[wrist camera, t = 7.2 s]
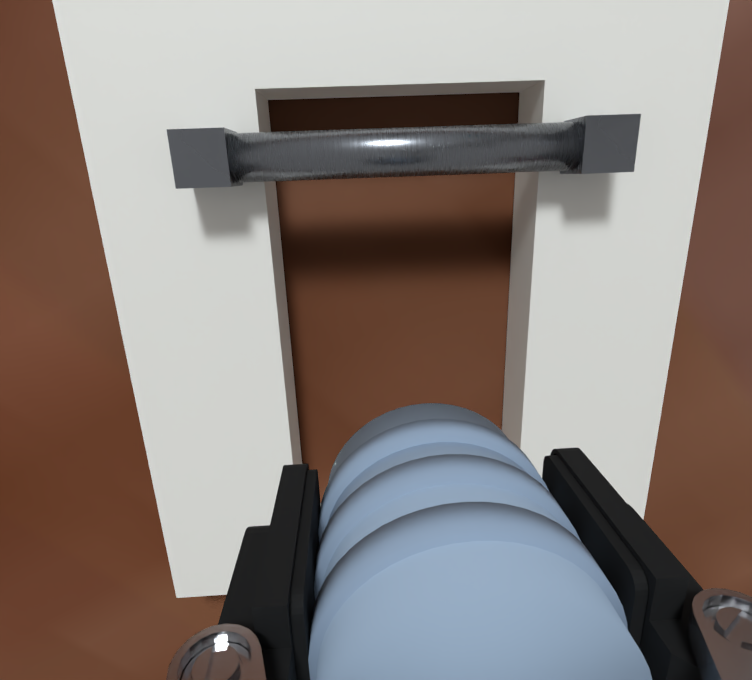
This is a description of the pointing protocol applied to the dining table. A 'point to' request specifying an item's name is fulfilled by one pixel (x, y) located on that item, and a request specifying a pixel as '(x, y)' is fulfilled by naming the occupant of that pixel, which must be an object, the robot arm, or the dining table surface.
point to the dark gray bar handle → (403, 151)
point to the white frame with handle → (263, 239)
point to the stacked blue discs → (456, 563)
